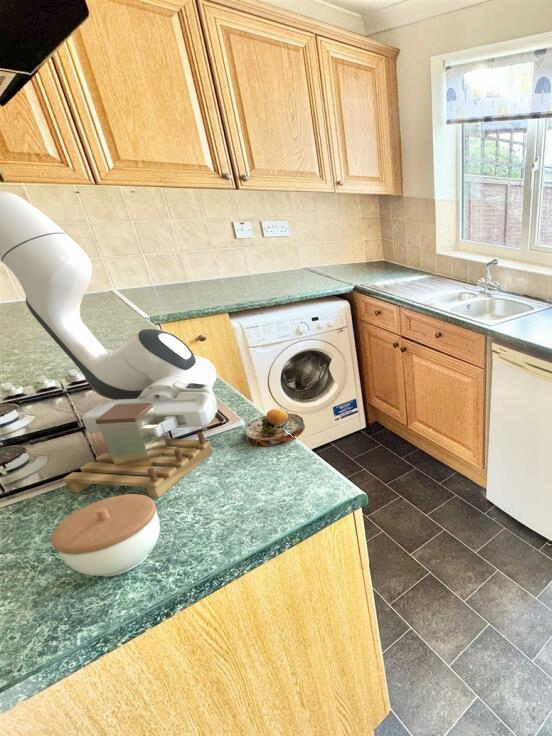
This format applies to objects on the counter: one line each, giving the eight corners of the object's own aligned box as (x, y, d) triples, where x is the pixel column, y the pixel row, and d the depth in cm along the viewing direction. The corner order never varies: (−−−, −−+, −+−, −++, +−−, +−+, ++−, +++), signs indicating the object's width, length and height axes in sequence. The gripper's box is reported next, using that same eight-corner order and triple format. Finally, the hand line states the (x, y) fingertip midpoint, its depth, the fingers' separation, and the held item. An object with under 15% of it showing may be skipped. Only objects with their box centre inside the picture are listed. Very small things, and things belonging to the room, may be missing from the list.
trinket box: (60, 567, 60) (32, 516, 56) (150, 522, 68) (131, 476, 64) (90, 604, 55) (62, 552, 51) (183, 551, 63) (165, 503, 59)
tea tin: (114, 468, 75) (94, 420, 71) (133, 450, 80) (115, 404, 76) (152, 465, 77) (134, 417, 72) (168, 447, 82) (152, 402, 77)
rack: (68, 492, 73) (56, 466, 71) (136, 447, 86) (127, 424, 84) (159, 498, 73) (150, 472, 71) (213, 453, 86) (207, 430, 84)
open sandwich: (286, 414, 102) (281, 386, 98) (316, 430, 96) (311, 401, 93) (234, 434, 92) (226, 405, 89) (263, 453, 87) (256, 422, 83)
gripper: (104, 389, 84) (53, 423, 72) (219, 384, 88) (189, 416, 76) (114, 416, 86) (67, 454, 74) (226, 410, 91) (198, 445, 79)
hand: (130, 435), depth 75 cm, fingers closed on tea tin, 5 cm apart
